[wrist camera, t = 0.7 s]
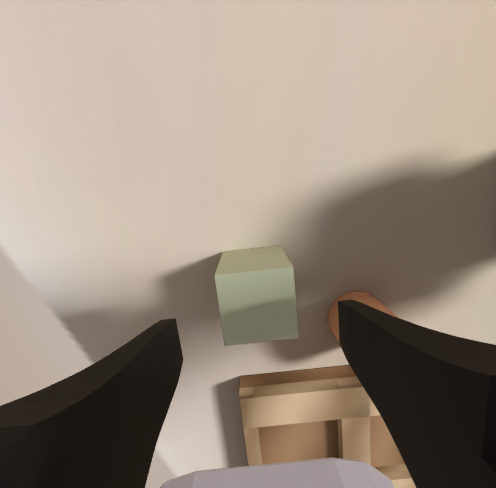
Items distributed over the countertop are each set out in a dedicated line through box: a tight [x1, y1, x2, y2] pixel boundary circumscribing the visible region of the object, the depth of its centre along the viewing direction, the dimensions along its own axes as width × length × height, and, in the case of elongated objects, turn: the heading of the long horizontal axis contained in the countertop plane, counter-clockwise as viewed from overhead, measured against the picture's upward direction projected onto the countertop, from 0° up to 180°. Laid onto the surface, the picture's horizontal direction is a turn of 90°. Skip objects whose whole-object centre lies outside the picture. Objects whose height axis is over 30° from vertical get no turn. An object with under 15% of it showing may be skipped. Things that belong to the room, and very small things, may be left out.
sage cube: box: [214, 245, 299, 346], centre depth 16 cm, size 4×4×5 cm
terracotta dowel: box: [328, 291, 398, 348], centre depth 17 cm, size 4×4×5 cm
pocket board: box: [239, 365, 416, 488], centre depth 20 cm, size 16×11×2 cm
